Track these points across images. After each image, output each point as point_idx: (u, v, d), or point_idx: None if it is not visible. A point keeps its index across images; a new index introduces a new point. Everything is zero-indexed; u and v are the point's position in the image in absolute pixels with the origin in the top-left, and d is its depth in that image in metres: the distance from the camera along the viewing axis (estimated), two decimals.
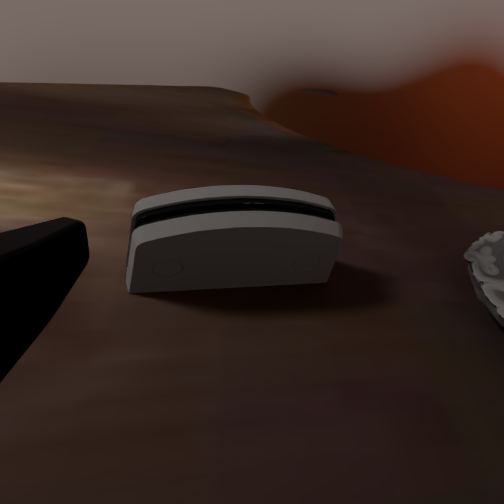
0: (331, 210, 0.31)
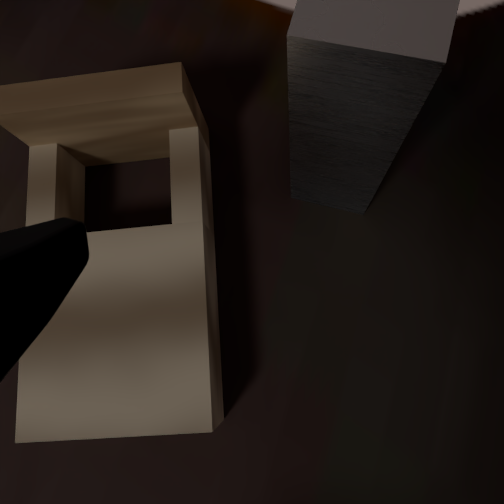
0: None
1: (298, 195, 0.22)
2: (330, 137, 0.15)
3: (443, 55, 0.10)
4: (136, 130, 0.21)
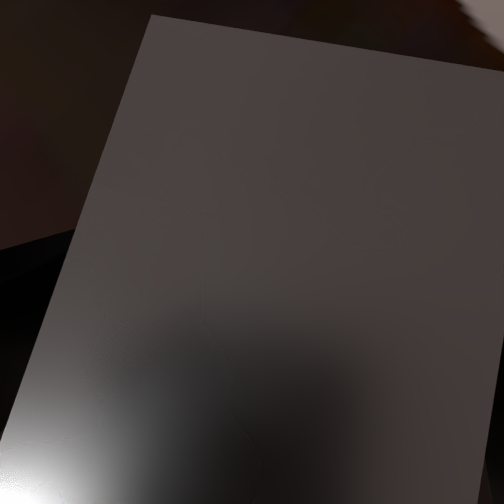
0: None
1: None
2: None
3: None
4: None
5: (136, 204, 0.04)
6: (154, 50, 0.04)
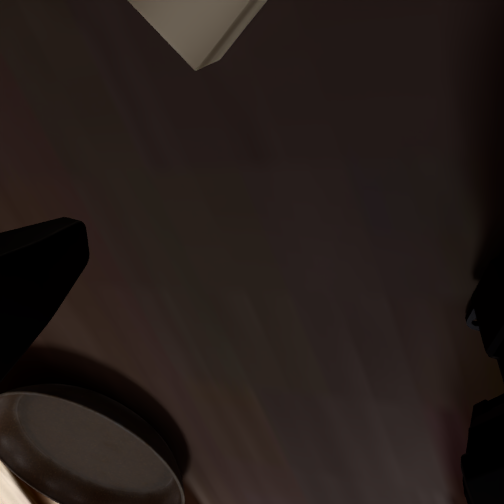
0: None
1: None
2: None
3: None
4: None
5: None
6: None
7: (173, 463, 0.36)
